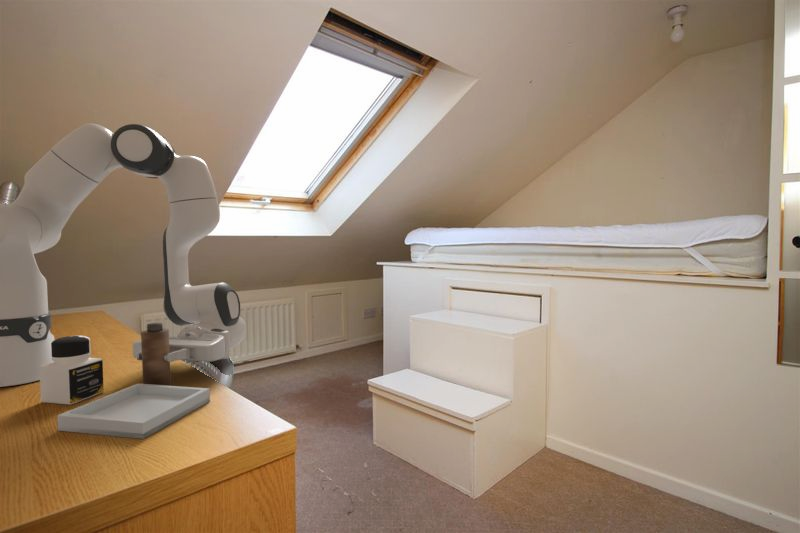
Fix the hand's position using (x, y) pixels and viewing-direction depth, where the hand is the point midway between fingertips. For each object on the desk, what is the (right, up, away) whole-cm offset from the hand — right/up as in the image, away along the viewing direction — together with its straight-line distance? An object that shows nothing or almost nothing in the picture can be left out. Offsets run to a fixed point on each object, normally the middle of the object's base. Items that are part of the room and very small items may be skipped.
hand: (152, 357), depth 87 cm
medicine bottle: (-13, -7, -4) cm, 16 cm away
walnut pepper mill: (0, -7, +1) cm, 7 cm away
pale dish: (+6, -7, -13) cm, 16 cm away
